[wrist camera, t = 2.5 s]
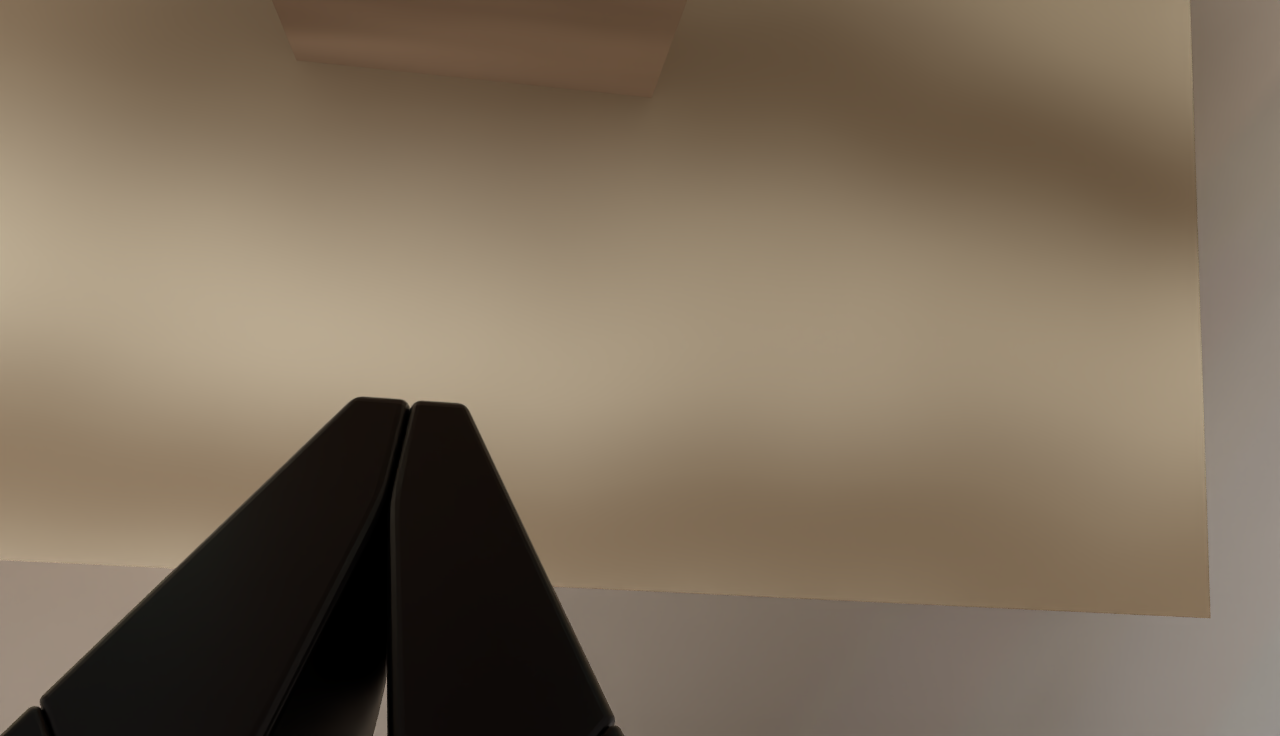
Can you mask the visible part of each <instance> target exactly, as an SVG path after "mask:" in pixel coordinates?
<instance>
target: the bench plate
mask: <svg viewBox="0 0 1280 736" xmlns="http://www.w3.org/2000/svg"><path fill="white" fill-rule="evenodd" d="M362 396H365V397H379V398H393V399H402V400H405V401H406V402H407V403H408V404H409V406H410V408H411V406H412V405H413V404H414V403H415V402H417V401H437V402H451V403H460V404H463V405H465V406H466V407H467V408H468V410H469V411H470V413H471V415H472V417H473V419H474V421H475V424H476V426H477V428H478V430H479V432H480V434H481V436H482V438H483V440H484V443H485V445H486V447H487V449H488V451H489V453H490V455H491V457H492V460H493V462H494V464H495V466H496V468H497V470H498V472H499V474H500V476H501V479H502V481H503V483H504V485H505V487H506V489H507V491H508V493H509V495H510V498H511V500H512V502H513V504H514V506H515V508H516V510H517V512H518V514H519V517H520V519H521V521H522V523H523V525H524V527H525V529H526V531H527V533H528V536H529V538H530V540H531V542H532V544H533V546H534V548H535V550H536V552H537V555H538V557H539V559H540V561H541V563H542V565H543V567H544V569H545V572H546V574H547V576H548V578H549V580H550V582H551V584H552V586H553V587H571V588H592V589H613V590H633V591H654V592H675V593H696V594H717V595H738V596H758V597H779V598H800V599H821V600H842V601H863V602H883V603H904V604H925V605H946V606H967V607H988V608H1008V609H1029V610H1050V611H1071V612H1092V613H1113V614H1133V615H1154V616H1175V617H1196V618H1210V590H1209V560H1208V530H1207V499H1206V469H1205V439H1204V408H1203V378H1202V347H1201V317H1200V287H1199V256H1198V226H1197V196H1196V165H1195V135H1194V104H1193V74H1192V44H1191V13H1190V0H687V2H686V5H685V7H684V10H683V13H682V16H681V19H680V21H679V24H678V27H677V30H676V32H675V35H674V38H673V41H672V43H671V46H670V49H669V52H668V54H667V57H666V60H665V63H664V65H663V68H662V71H661V74H660V76H659V79H658V82H657V85H656V88H655V90H654V93H653V96H652V98H649V97H640V96H630V95H621V94H612V93H602V92H593V91H583V90H574V89H564V88H555V87H545V86H536V85H526V84H517V83H507V82H498V81H488V80H479V79H469V78H460V77H450V76H441V75H431V74H422V73H412V72H403V71H393V70H384V69H375V68H365V67H356V66H346V65H337V64H327V63H318V62H308V61H299V60H296V58H295V55H294V53H293V51H292V48H291V46H290V43H289V41H288V38H287V36H286V34H285V31H284V29H283V26H282V24H281V21H280V19H279V16H278V14H277V12H276V9H275V7H274V4H273V2H272V0H0V560H9V561H29V562H50V563H71V564H92V565H113V566H134V567H154V568H176V567H177V566H178V565H179V564H180V563H181V562H182V561H184V560H185V559H186V558H187V557H188V556H189V555H190V554H191V553H192V552H193V551H194V550H195V549H196V548H197V547H198V546H199V545H200V544H201V543H202V542H203V541H204V540H205V539H206V538H208V537H209V536H210V535H211V534H212V533H213V532H214V531H215V530H216V529H217V528H218V527H219V526H220V525H221V524H222V523H223V522H224V521H225V520H226V519H227V518H228V517H229V516H230V515H232V514H233V513H234V512H235V511H236V510H237V509H238V508H239V507H240V506H241V505H242V504H243V503H244V502H245V501H246V500H247V499H248V498H249V497H250V496H251V495H252V494H253V493H254V492H255V491H257V490H258V489H259V488H260V487H261V486H262V485H263V484H264V483H265V482H266V481H267V480H268V479H269V478H270V477H271V476H272V475H273V474H274V473H275V472H276V471H277V470H278V469H279V468H281V467H282V466H283V465H284V464H285V463H286V462H287V461H288V460H289V459H290V458H291V457H292V456H293V455H294V454H295V453H296V452H297V451H298V450H299V449H300V448H301V447H302V446H303V445H305V444H306V443H307V442H308V441H309V440H310V439H311V438H312V437H313V436H314V435H315V434H316V433H317V432H318V431H319V430H320V429H321V428H322V427H323V426H324V425H325V424H326V423H327V422H328V421H330V420H331V419H332V418H333V417H334V416H335V415H336V414H337V413H338V412H339V411H340V410H341V409H342V408H343V407H344V406H345V405H346V404H347V403H348V402H349V401H351V400H352V399H354V398H356V397H362Z"/></svg>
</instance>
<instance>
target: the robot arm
mask: <svg viewBox="0 0 1280 736" xmlns="http://www.w3.org/2000/svg"><path fill="white" fill-rule="evenodd" d="M386 677H387V736H624V735H623V733H622V731H621V729H620V728H619V727H618V726H614V724H615V718H614V715H613V713H612V711H611V709H610V707H609V705H608V703H607V700H606V698H605V696H604V694H603V692H602V690H601V688H600V686H599V683H598V681H597V679H596V677H595V675H594V673H593V671H592V669H591V667H590V664H589V662H588V660H587V658H586V656H585V654H584V652H583V650H582V648H581V645H580V643H579V641H578V639H577V637H576V635H575V633H574V631H573V629H572V626H571V624H570V622H569V620H568V618H567V616H566V614H565V612H564V610H563V607H562V605H561V603H560V601H559V599H558V597H557V595H556V593H555V591H554V588H553V586H552V584H551V582H550V580H549V578H548V576H547V574H546V572H545V569H544V567H543V565H542V563H541V561H540V559H539V557H538V555H537V552H536V550H535V548H534V546H533V544H532V542H531V540H530V538H529V536H528V533H527V531H526V529H525V527H524V525H523V523H522V521H521V519H520V517H519V514H518V512H517V510H516V508H515V506H514V504H513V502H512V500H511V498H510V495H509V493H508V491H507V489H506V487H505V485H504V483H503V481H502V479H501V476H500V474H499V472H498V470H497V468H496V466H495V464H494V462H493V460H492V457H491V455H490V453H489V451H488V449H487V447H486V445H485V443H484V440H483V438H482V436H481V434H480V432H479V430H478V428H477V426H476V424H475V421H474V419H473V417H472V415H471V413H470V411H469V410H468V408H467V407H466V406H465V405H463V404H460V403H451V402H437V401H417V402H415V403H414V404H413V405H412V406H411V408H410V406H409V404H408V403H407V402H406V401H405V400H402V399H393V398H379V397H365V396H362V397H356V398H354V399H352V400H351V401H349V402H348V403H347V404H346V405H345V406H344V407H343V408H342V409H341V410H340V411H339V412H338V413H337V414H336V415H335V416H334V417H333V418H332V419H331V420H330V421H328V422H327V423H326V424H325V425H324V426H323V427H322V428H321V429H320V430H319V431H318V432H317V433H316V434H315V435H314V436H313V437H312V438H311V439H310V440H309V441H308V442H307V443H306V444H305V445H303V446H302V447H301V448H300V449H299V450H298V451H297V452H296V453H295V454H294V455H293V456H292V457H291V458H290V459H289V460H288V461H287V462H286V463H285V464H284V465H283V466H282V467H281V468H279V469H278V470H277V471H276V472H275V473H274V474H273V475H272V476H271V477H270V478H269V479H268V480H267V481H266V482H265V483H264V484H263V485H262V486H261V487H260V488H259V489H258V490H257V491H255V492H254V493H253V494H252V495H251V496H250V497H249V498H248V499H247V500H246V501H245V502H244V503H243V504H242V505H241V506H240V507H239V508H238V509H237V510H236V511H235V512H234V513H233V514H232V515H230V516H229V517H228V518H227V519H226V520H225V521H224V522H223V523H222V524H221V525H220V526H219V527H218V528H217V529H216V530H215V531H214V532H213V533H212V534H211V535H210V536H209V537H208V538H206V539H205V540H204V541H203V542H202V543H201V544H200V545H199V546H198V547H197V548H196V549H195V550H194V551H193V552H192V553H191V554H190V555H189V556H188V557H187V558H186V559H185V560H184V561H182V562H181V563H180V564H179V565H178V566H177V567H176V568H175V569H174V570H173V571H172V572H171V573H170V574H169V575H168V576H167V577H166V578H165V579H164V580H163V581H162V582H161V583H160V584H159V585H157V586H156V587H155V588H154V589H153V590H152V591H151V592H150V593H149V594H148V595H147V596H146V597H145V598H144V599H143V600H142V601H141V602H140V603H139V604H138V605H137V606H136V607H135V608H133V609H132V610H131V611H130V612H129V613H128V614H127V615H126V616H125V617H124V618H123V619H122V620H121V621H120V622H119V623H118V624H117V625H116V626H115V627H114V628H113V629H112V630H111V631H110V632H108V633H107V634H106V635H105V636H104V637H103V638H102V639H101V640H100V641H99V642H98V643H97V644H96V645H95V646H94V647H93V648H92V649H91V650H90V651H89V652H88V653H87V654H86V655H84V656H83V657H82V658H81V659H80V660H79V661H78V662H77V663H76V664H75V665H74V666H73V667H72V668H71V669H70V670H69V671H68V672H67V673H66V674H65V675H64V676H63V677H62V678H60V679H59V680H58V681H57V682H56V683H55V684H54V685H53V686H52V687H51V688H50V689H49V690H48V691H47V692H46V693H45V694H44V695H43V696H42V697H41V699H40V706H41V708H39V707H35V706H33V707H30V708H29V709H27V710H26V711H25V712H24V713H23V714H22V715H21V716H20V717H19V718H18V719H17V720H16V721H15V722H14V723H13V724H12V725H11V726H10V727H9V728H8V729H7V730H6V731H4V732H3V733H2V734H1V735H0V736H373V734H374V730H375V726H376V722H377V718H378V714H379V710H380V705H381V701H382V696H383V692H384V688H385V683H386ZM41 709H42V710H41Z"/></svg>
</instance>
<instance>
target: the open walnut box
mask: <svg viewBox="0 0 1280 736" xmlns="http://www.w3.org/2000/svg"><path fill="white" fill-rule="evenodd" d="M272 2H273V4H274V7H275V9H276V12H277V14H278V16H279V19H280V21H281V24H282V26H283V29H284V31H285V34H286V36H287V38H288V41H289V43H290V46H291V48H292V51H293V53H294V55H295V58H296V60H299V61H308V62H318V63H327V64H337V65H346V66H356V67H365V68H375V69H384V70H393V71H403V72H412V73H422V74H431V75H441V76H450V77H460V78H469V79H479V80H488V81H498V82H507V83H517V84H526V85H536V86H545V87H555V88H564V89H574V90H583V91H593V92H602V93H612V94H621V95H630V96H640V97H649V98H652V96H653V93H654V90H655V88H656V85H657V82H658V79H659V76H660V74H661V71H662V68H663V65H664V63H665V60H666V57H667V54H668V52H669V49H670V46H671V43H672V41H673V38H674V35H675V32H676V30H677V27H678V24H679V21H680V19H681V16H682V13H683V10H684V7H685V5H686V2H687V0H272Z"/></svg>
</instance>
